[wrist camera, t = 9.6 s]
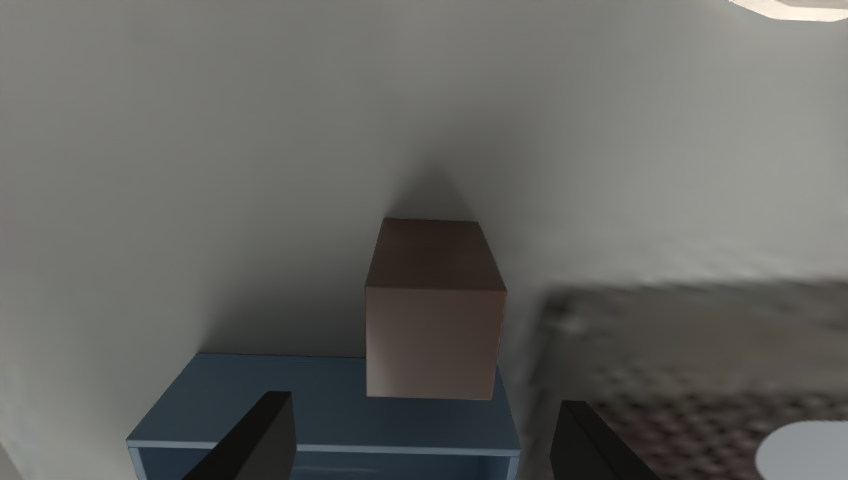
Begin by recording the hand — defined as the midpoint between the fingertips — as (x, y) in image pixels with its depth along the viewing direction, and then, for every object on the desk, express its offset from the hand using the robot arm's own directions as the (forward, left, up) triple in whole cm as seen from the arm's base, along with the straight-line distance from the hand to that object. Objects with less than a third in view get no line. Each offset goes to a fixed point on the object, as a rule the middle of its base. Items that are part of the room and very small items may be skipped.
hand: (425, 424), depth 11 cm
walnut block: (0, -1, -9) cm, 9 cm away
